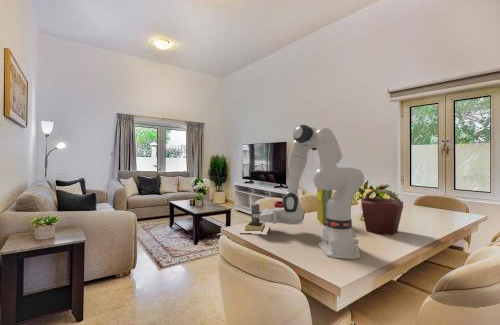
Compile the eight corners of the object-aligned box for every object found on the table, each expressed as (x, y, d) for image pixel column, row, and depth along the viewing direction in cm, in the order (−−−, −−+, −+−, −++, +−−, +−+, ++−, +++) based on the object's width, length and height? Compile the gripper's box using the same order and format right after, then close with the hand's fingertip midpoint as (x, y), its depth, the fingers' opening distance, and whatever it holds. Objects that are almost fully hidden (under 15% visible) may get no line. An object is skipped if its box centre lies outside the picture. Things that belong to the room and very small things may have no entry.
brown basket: (411, 237, 138) (411, 192, 138) (371, 237, 138) (371, 192, 138) (386, 226, 162) (386, 187, 162) (353, 226, 162) (353, 187, 162)
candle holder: (266, 235, 142) (266, 228, 142) (239, 233, 145) (239, 226, 145) (269, 227, 158) (269, 221, 158) (245, 226, 161) (245, 220, 161)
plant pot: (272, 220, 178) (272, 203, 178) (276, 216, 191) (276, 200, 191) (291, 221, 175) (291, 204, 175) (293, 217, 187) (293, 201, 187)
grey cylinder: (258, 228, 148) (258, 205, 148) (250, 228, 149) (250, 205, 149) (260, 226, 153) (260, 204, 153) (252, 226, 154) (252, 203, 154)
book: (332, 224, 165) (332, 187, 165) (321, 224, 165) (322, 187, 165) (324, 219, 182) (325, 184, 182) (315, 218, 182) (315, 184, 182)
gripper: (278, 206, 159) (256, 206, 162) (275, 213, 139) (250, 212, 142) (278, 216, 159) (256, 215, 162) (275, 224, 139) (251, 223, 142)
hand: (254, 214), depth 151 cm, fingers closed on grey cylinder, 5 cm apart
